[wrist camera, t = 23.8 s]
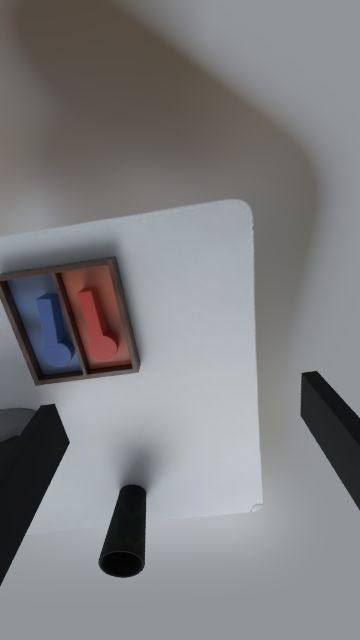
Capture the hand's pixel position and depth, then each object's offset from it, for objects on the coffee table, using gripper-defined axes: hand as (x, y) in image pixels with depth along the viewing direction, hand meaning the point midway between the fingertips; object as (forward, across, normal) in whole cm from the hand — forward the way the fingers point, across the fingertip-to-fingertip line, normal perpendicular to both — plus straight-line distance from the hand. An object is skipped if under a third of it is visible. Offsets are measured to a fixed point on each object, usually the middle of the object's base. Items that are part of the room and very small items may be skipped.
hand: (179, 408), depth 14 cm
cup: (+27, -16, -42) cm, 53 cm away
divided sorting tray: (+27, -17, -3) cm, 32 cm away
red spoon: (+26, -13, -4) cm, 29 cm away
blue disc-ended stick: (+26, -19, -4) cm, 33 cm away
